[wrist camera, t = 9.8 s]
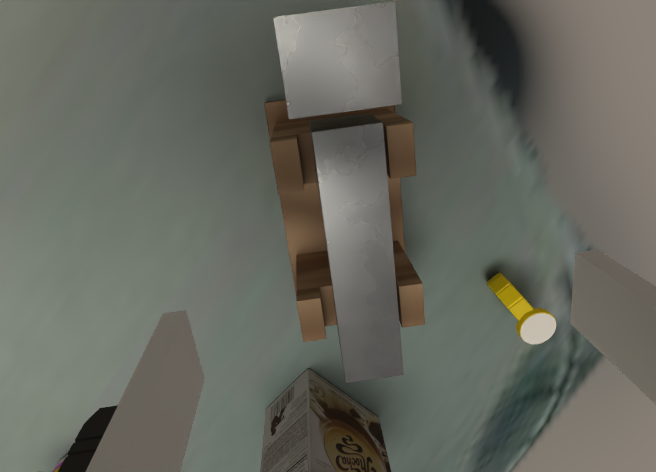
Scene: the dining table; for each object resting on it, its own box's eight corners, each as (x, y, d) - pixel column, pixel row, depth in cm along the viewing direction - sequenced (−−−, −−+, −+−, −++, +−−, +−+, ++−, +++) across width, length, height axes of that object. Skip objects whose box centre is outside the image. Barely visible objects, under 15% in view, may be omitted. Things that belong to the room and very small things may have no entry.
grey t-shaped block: (276, 24, 25) (273, 17, 21) (378, 10, 25) (395, 0, 21) (324, 343, 32) (329, 385, 28) (403, 331, 32) (419, 372, 28)
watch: (534, 300, 41) (574, 341, 35) (508, 319, 41) (544, 363, 36) (497, 257, 39) (534, 294, 33) (471, 278, 39) (503, 318, 34)
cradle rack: (264, 102, 33) (255, 116, 25) (390, 85, 33) (420, 93, 25) (298, 300, 39) (299, 362, 31) (405, 284, 39) (433, 342, 31)
